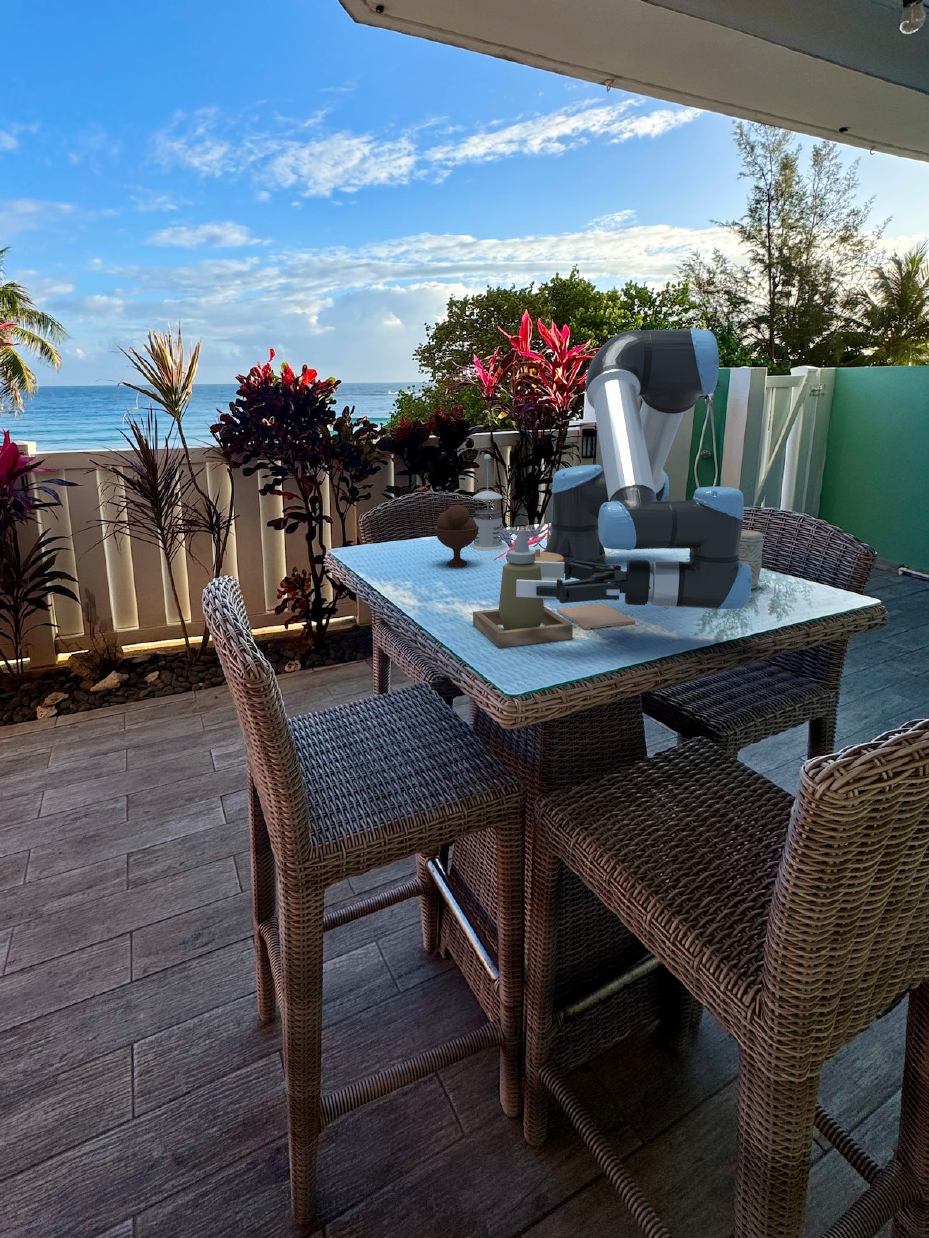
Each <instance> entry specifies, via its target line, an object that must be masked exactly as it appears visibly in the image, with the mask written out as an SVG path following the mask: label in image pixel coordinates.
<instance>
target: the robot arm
mask: <svg viewBox="0 0 929 1238" xmlns="http://www.w3.org/2000/svg"><path fill="white" fill-rule="evenodd" d="M719 359H720V357H719V347H718V342H717V339H716V336H715V333H713V332H712V331H711V330H709V329H699V328H696V329H695V328H693V327H690V328H683V329H681V328H680V329H678V328H677V329H673V328H672V329H631V330H626V331H623V332H620V333H619V334H617V335H615V336H613V337H611V338H610V339H608V341H606V343H604V344H603V345H602V346H601V347H600V349H599V350H598V351H597V352H596V354H595V355H594V357H593V358H592V360H591V362H590V364H589V367H588V369H587V372H586V373H587V374H586V379H585V391H586V398H587V402H588V404H589V405H590V407H591V408H593V409H594V414H595V420H596V426H597V427H596V428H597V434H598V439H599V447H600V454H601V459H602V465H603V467H602V466H601V465H600V464H590V465H589V464H586V465H577V466H576V465H575V466H571V467H565V468H562V469H559V470H557V471H556V472H555V473H554V474H553V477H552V488H551V493H552V495H551V496H552V497H551V499H552V500H551V528H550V529H551V531H550V534H549V537H548V540H547V543H546V545H545V549H544V552H550V553H556V554H559V555H561V556H563V558H564V560H563V562H537V561H535V563H537V564H538V565H539V566H540V567H541V577H547V578H561V580H560V579H557V581H541V580H516V597H533V598H543V599H555V600H558V602H559V603H560V604H571V603H581V602H592V601H595V602H596V601H606V600H607V601H608V600H609V601H610V600H611V601H618V600H620V594H624V603H625V604H626V605H628V606H646V605H648V603H649V602H650V603H651V605H652V606H656V607H658V606H659V607H660V606H661V607H663V609H664V610H669V609H670V607H677V608H681V607H683V608H693V609H694V608H695V609H696V608H697V609H699V608H700V609H712V610H717V611H718V610H736V609H737V610H739V609H743V608H745V607H746V606H747V605H748V604H749V601H750V599H751V595H752V594H751V592H752V589H751V580H752V573H751V568H750V566H749V565H748V564H746V563H741V562H739V558H738V557H739V547H740V539H741V531H742V530H743V522H744V511H745V510H744V508H745V507H744V505H745V503H744V502H745V501H744V494H743V492H742V491H741V490H740V489H738V488H735V487H727V486H706V487H705V486H701V487H698V488H696V489H695V491H694V492H693V493H694V494H693V497H692V499H689V500H668V497H669V492H670V481H669V476H668V474H667V473H666V472H665V471H664V467H665V463H666V461H667V459H668V456H669V453H670V451H671V448H672V446H673V443H674V440H675V438H676V435H677V432H678V430H679V427H680V424H681V422H682V420H683V417H684V414H685V413H686V412H689V411H690V410H691V409H692V408H693V407H695V405H696V403H697V402H698V401H699V397H700V396H703V397H704V396H707V395H708V396H709V395H711V394H713V393H714V392H715V390H716V388H717V384H718V378H719V372H720V371H719V370H720V369H719V368H720V367H719V366H720V365H719V364H720V363H719V362H720V361H719ZM638 397H640V398H641V401H642V402H641V403H642V404H641V406H640V408H639V403H638ZM605 549H609V550H625V551H633V550H659V549H661V550H662V549H666V550H667V549H668V550H669V549H670V550H671V549H672V550H676V549H677V550H678V549H680V550H681V549H685V550H686V549H689V555H688V556H689V560H688V561H683V560H681V561H680V560H663V559H662V560H660V559H659V560H658V559H655V560H653V562H652V563H650V561H649V559H628V560H627V562H626V571H623V570H622V565H620V564H615V565H614V564H606V556H607V555H606V552H605ZM562 579H564V580H565V581H567V582H563V580H562ZM571 579H575V580H572V581H569V580H571Z"/></svg>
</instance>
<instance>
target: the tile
mask: <svg viewBox="0 0 929 1238" xmlns="http://www.w3.org/2000/svg"><path fill="white" fill-rule="evenodd" d="M556 612H557V613H558V614H559V615H561V616H563V617H564V616H565V617H564V618H566V619H567V620H569V619H570V620H569V621H571V622H572V621H573V622H572V623H574V624H575V623H576V624H575V625H577V624H578V625H577V626H579V627H580V626H581V627H580V628H581V629H583V628H584V629H583V630H585V629H587V630H592V629H591V628H595V629H600V628H599V627H604V628H607V627H606V626H612V627H619V626H626V625H625V624H628V625H633V624H632V623H635V624H636V620H635V619H633V618H631V617H629V616H628V615H626V614H625V613H621V612H620V611H618V610H616V609H615V608H612V607H611V606H609V605H607V604H605V603H603V602H602V603H595V604H585V605H576V606H568V607H567V606H566V607H557V608H556Z"/></svg>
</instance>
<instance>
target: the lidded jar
mask: <svg viewBox="0 0 929 1238" xmlns="http://www.w3.org/2000/svg"><path fill="white" fill-rule="evenodd" d="M534 551H535V561H537V562H563V560H564V558H563V556H561V555H559V554H556V553H550V552H545V551H541V548H535V549H534ZM541 578H542V581H557V579H560V580H562V578H547V577H541Z"/></svg>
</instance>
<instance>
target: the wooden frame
mask: <svg viewBox="0 0 929 1238" xmlns="http://www.w3.org/2000/svg"><path fill="white" fill-rule="evenodd" d="M541 624H543V625H542V626H541V625H540V626H539V627H531V628H522V629H514V630H503V629H501V628H500V627H499V626H498V625H503V624H502V621H501V618H500V615H499V608H495V609H486V610H485V609H484V610H477V611H473V612H472V625H473V626H474V627H475V628H476V629H477V630H478V631H479V632H481V633H482V635H484V636H485V637H486V638H487V639H488V640H489V641H491V642H492V643H493V645H495V646H496V647H497V648H498V649H500V648H501V649H503V648H509V647H510V648H511V647H519V646H526V645H534V644H542V643H550V642H559V641H565V640H567V641H568V640H573V637H574V636H573V634H574V633H573V632H574V630H573V629H574V625H573V624H572V623H571V622H569V620H566V619H564V618H563V617H561V616H560V615H558V614H557V613H556V612H553V611H552V610H550V609H549V608H547V607H546V606H544V616H543V618H542V621H541Z"/></svg>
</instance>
